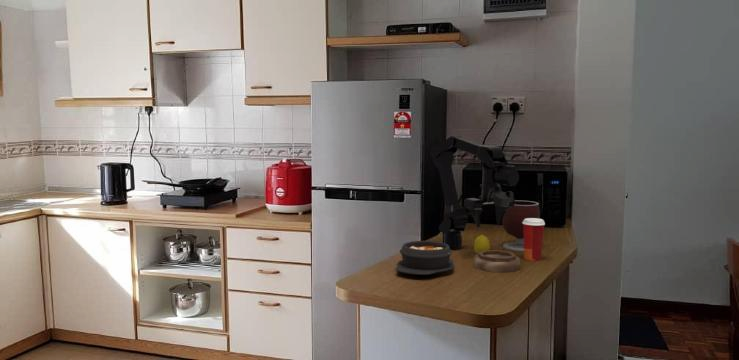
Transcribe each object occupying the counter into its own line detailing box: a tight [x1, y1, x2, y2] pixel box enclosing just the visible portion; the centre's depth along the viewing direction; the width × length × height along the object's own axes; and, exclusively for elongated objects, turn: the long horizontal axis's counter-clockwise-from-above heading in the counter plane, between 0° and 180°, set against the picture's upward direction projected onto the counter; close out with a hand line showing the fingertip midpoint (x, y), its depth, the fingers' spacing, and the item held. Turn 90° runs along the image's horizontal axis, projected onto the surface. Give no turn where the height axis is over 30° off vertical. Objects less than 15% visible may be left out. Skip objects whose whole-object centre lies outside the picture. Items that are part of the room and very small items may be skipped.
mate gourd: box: [501, 199, 541, 252], centre depth 240 cm, size 16×14×20 cm
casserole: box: [395, 240, 455, 276], centre depth 205 cm, size 25×19×8 cm
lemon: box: [473, 234, 491, 255], centre depth 225 cm, size 6×6×8 cm
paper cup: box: [522, 218, 546, 262], centre depth 221 cm, size 8×8×14 cm
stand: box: [473, 249, 521, 273], centre depth 211 cm, size 15×15×4 cm
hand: (488, 226), depth 223 cm, fingers open, 9 cm apart
